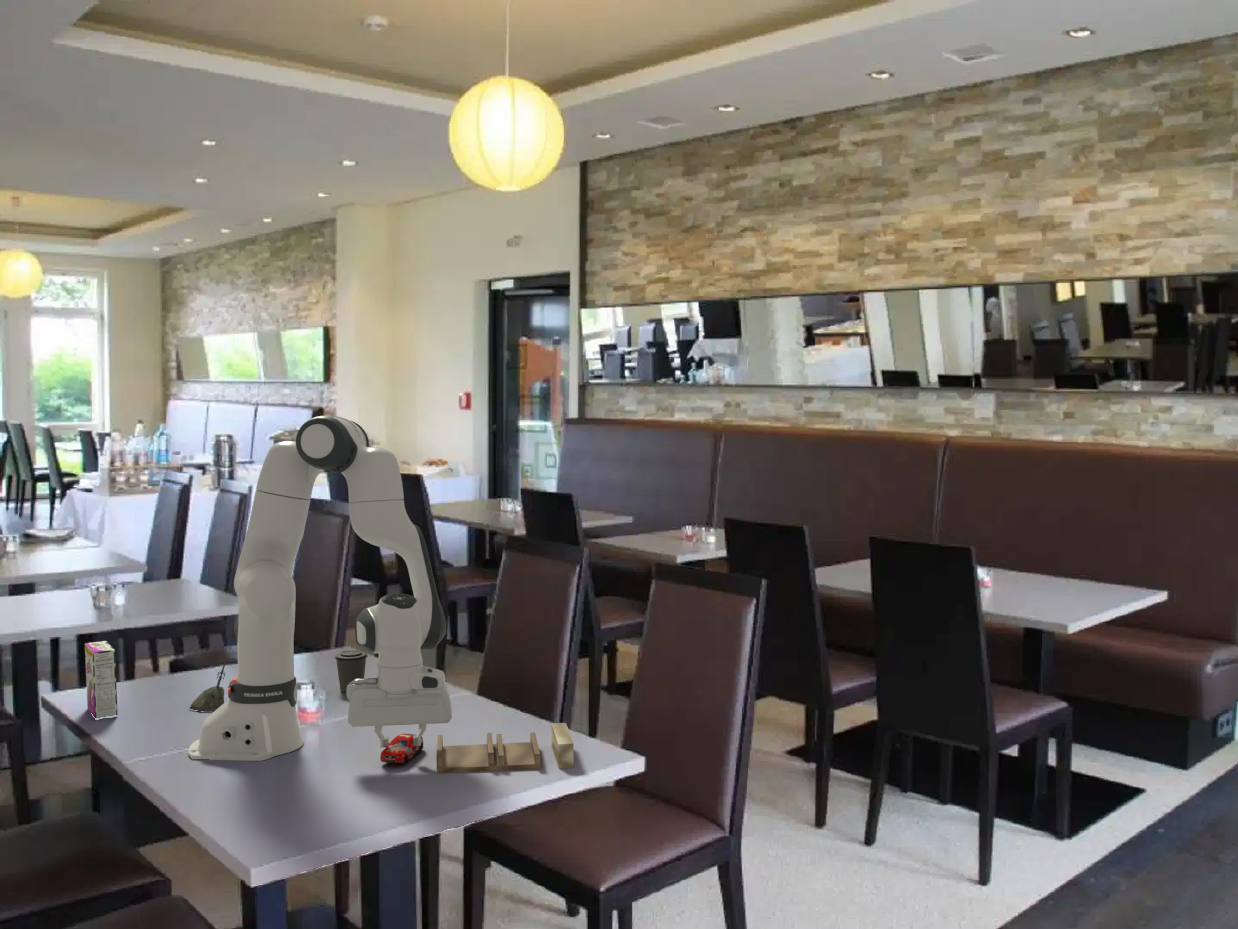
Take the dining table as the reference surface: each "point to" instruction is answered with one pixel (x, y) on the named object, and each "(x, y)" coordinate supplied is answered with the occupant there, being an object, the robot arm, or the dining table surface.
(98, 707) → the candy bar box
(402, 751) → the race car
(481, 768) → the jig
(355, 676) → the coffee cup
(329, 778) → the dining table surface
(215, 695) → the sword in stone
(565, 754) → the bar
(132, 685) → the dining table surface
